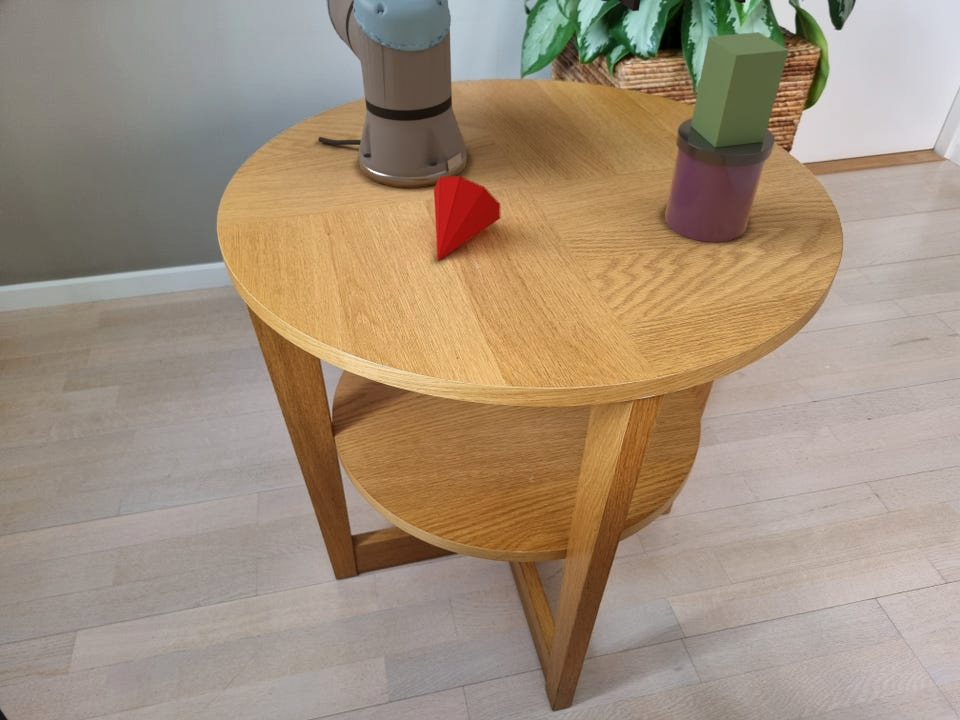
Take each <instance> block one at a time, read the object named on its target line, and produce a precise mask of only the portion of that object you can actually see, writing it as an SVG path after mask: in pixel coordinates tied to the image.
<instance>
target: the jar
mask: <svg viewBox="0 0 960 720" xmlns="http://www.w3.org/2000/svg"><path fill="white" fill-rule="evenodd" d="M691 122H692V117H691V118H688V119H685V120H684V121H683V122H681V124H679V126H678V128H677V132H676V138H675V142H676V147H677V149H676V156H675V161H674V167H673V171H672V176H671V182H670V187H669V190H668V191H669V192H668V195H667V196H668V197H667V202H666V207H665V213H664V221H665V223H666V225H667V226H668V227H669V228H670V229H671V230H672V231H674V232H676V233H677V234H678V235H681V236H682V237H685V238H688V239H692V240H694V241H695V240H696V241H700V242H708V243H723V242H728V241H732V240H735V239H738V238H740V236H742V235H743V234H744V233H745V232H746V229H747V227H748V223H749V220H750V216H751V212H752V209H753V206H754V202H755V199H756V196H757V192H758V188H759V184H760V181H761V178H762V175H763V171H764V167H765V164H766V160H768V159H769V158H770V157H771V155H772V153H773V149H774V147H775V143H776V139H775V135H774V134H773V132H772V131H771V130H769V129H768V128H767V130H766V134H765V138H764V141H763V142H758V143H750V144H742V145H734V146H725V147H717V148H715V147H714V146H713V145H711V144H710V143H709V142H708V141H707V140H706V139H705V138H704V137H703V136H701V135H700V134H699V133H698V132H697V131H696V130H695V129H694V128H692V127H691Z"/></svg>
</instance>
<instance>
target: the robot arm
mask: <svg viewBox="0 0 960 720" xmlns="http://www.w3.org/2000/svg"><path fill="white" fill-rule="evenodd" d="M600 1H601V2H610V1H611V0H600ZM617 1H618V2H620V3H621V4H622V5H623V6H625V7H626V8H628V9H629V10H631V11H632V12H639V11H640V5H641V0H617ZM734 2H736V3H738V4H745V3H746V2H747V0H734ZM326 9H327V14H328V18H329V21H330V24H331V25H332V27H333V30H334V31H335V33H336V35H338V37H339V39H340V40H341V41H343V42H344V44H345V45H346V46H347V47H348V48H349V49H350V51H351V52H352V53H353V54H354V55H355V57H356V58H357V59H358V60H359V62H360V66H361V67H360V68H361V75H362V76H361V77H362V83H363V84H362V85H363V91H364V99H365V100H364V101H365V109H366V114H365V119H364V123H363V128H362V133H361V136H360V137H361V138H360V139H332V138H331V139H330V138H327V137H322V136H319V137H318V142H319V143H323V144H327V145H331V146H333V145H334V146H359V148H358V161H359V162H358V163H359V168H360V170H361V172H362V173H363V175H364V176H366V178H368V179H370V180H371V181H374V182H377V183H379V184H382V185H386V186H391V187H399V188H419V187H427V186H433V185H436V183H437V181H438V179H439V178H441V177H442V178H444V176H459V174H460V173H461V172H462V171H463V170H464V169H465V168H466V165H467V147H466V143H465V140H464V136H463V134H462V132H461V129H460V127H459V123H458V120H457V118H456V115H455V113H454V109H453V95H452V94H453V91H452V90H453V89H452V58H451V57H452V56H451V55H452V54H451V24H452V23H451V22H452V16H451V11H450V8H449V0H326Z"/></svg>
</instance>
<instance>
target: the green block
mask: <svg viewBox="0 0 960 720" xmlns="http://www.w3.org/2000/svg"><path fill="white" fill-rule="evenodd" d="M789 52H790V50H789V49H788V48H786V47H785V46H783V45H782V44H779V43H778V42H777V41H774V40H772V39H771V38H769V37H767V36H766V35H764V34H763V33H761V32H759V31H758V32H746V33H735V34H725V35H714V36H713V35H712V36H708V39H707V44H706V48H705V53H704V59H703V63H702V69H701V73H700V78H699V83H698V88H697V92H696V99H695V103H694V108H693V114H692V116H691V118H692V122H691V127H692V128H694V129H695V130H696V131H697V132H698V133H699V134H700V135H701V136H703V137H704V138H705V139H706V140H707V141H708V142H709V143H710V144H711V145H713V146H714V147H715V148H717V147H725V146H734V145H742V144H750V143H758V142H763V141H764V138H765V134H766V130H767V129H768V127H769V123H770V121H771V116H772V112H773V108H774V106H775V101H776V98H777V95H778V91H779V87H780V85H781V81H782V77H783V74H784V73H783V72H784V70H785V67H786V66H785V65H786V62H787V59H788V55H789Z"/></svg>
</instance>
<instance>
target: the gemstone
mask: <svg viewBox="0 0 960 720" xmlns="http://www.w3.org/2000/svg"><path fill="white" fill-rule="evenodd" d="M433 196H434V197H433V198H434V199H433V200H434V216H435V217H434V219H435V236H436V254H437V257H436V258H437V261H440V260H441V259H443V258H444V257H446V256H447V255H449V254H450V253H452V252H453V251H454V250H457V248H460V247H461V246H462V245H464V244H465V243H467V242H468V241H469V240H471V239H472V238H474V237H475V236H476V235H479V233H481V232H482V231H484V230H485V229H487V228H488V227H490V226H491V225H493V224H494V223H496V222H497V221H498V220H500V219H501V216H500V206H501V203H500V202H499V201H498V200H497V198H496V197H495V196H494V195H493V194H492V192H490V191H489V190H488V189H487V188H486V186H483V185H481V184H480V183H478V182H475V181H472V180H470V179H468V178H465V177H464V176H462V175H456V176H444V178H442V177H441V178H439V179H438V181H437V183H436V184H434V187H433Z"/></svg>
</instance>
